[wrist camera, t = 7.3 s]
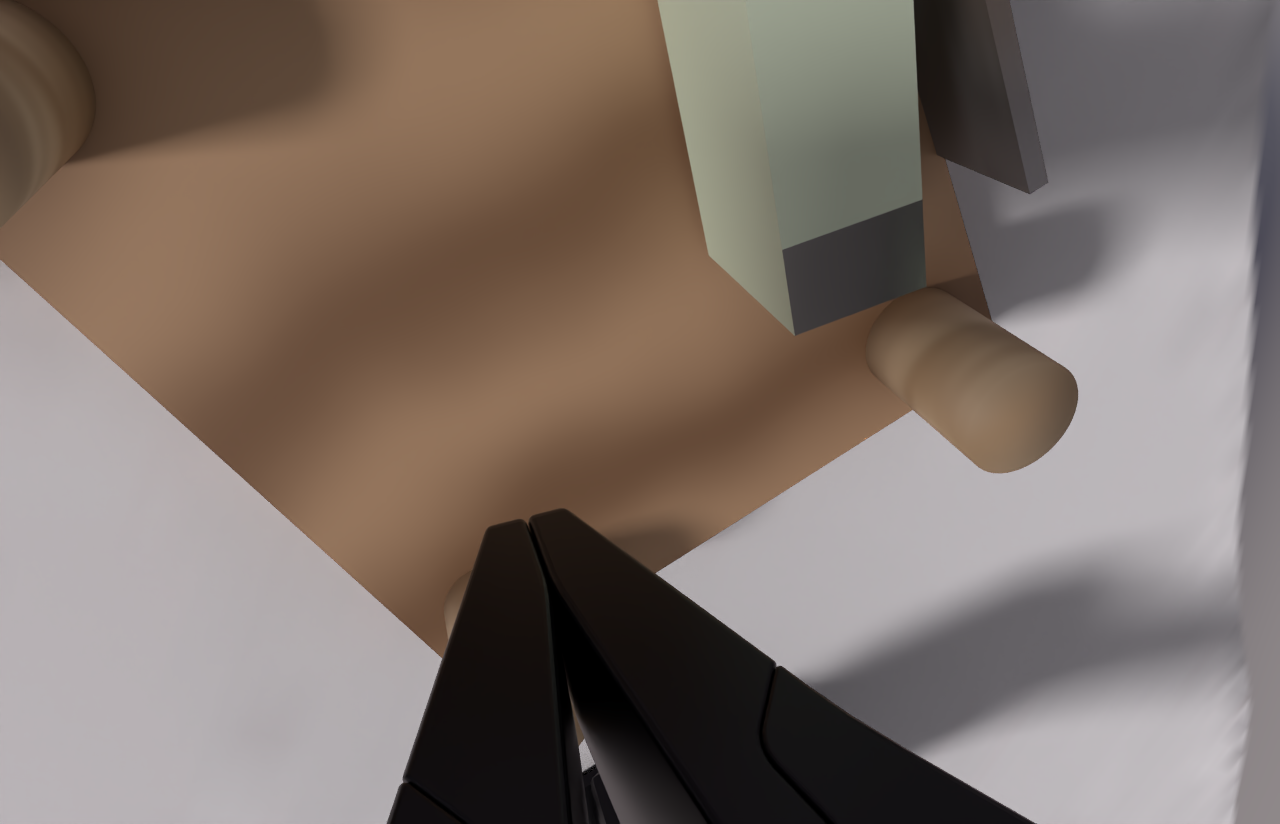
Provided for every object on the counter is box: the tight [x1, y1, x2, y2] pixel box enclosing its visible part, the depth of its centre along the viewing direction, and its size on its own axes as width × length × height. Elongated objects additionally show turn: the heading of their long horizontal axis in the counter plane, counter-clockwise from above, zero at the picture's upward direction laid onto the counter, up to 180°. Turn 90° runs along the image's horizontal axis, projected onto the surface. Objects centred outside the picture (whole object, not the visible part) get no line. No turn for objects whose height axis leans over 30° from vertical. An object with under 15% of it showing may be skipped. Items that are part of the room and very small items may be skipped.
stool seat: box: [0, 0, 1078, 746], centre depth 16 cm, size 18×16×6 cm
